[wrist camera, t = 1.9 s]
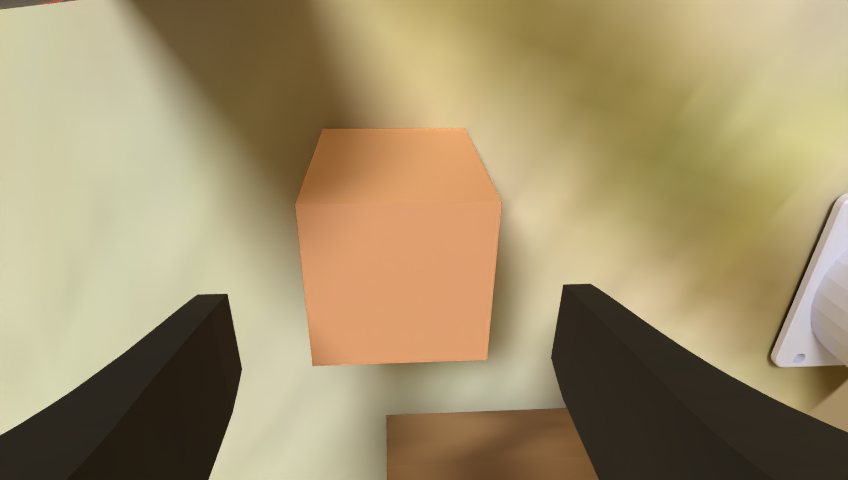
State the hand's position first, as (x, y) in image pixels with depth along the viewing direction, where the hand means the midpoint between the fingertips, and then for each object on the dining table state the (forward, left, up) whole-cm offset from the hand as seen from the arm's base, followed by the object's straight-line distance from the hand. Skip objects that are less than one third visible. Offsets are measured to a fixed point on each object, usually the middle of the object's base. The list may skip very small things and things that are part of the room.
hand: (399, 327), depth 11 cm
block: (-4, +15, -8) cm, 17 cm away
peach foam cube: (0, 0, -8) cm, 8 cm away
